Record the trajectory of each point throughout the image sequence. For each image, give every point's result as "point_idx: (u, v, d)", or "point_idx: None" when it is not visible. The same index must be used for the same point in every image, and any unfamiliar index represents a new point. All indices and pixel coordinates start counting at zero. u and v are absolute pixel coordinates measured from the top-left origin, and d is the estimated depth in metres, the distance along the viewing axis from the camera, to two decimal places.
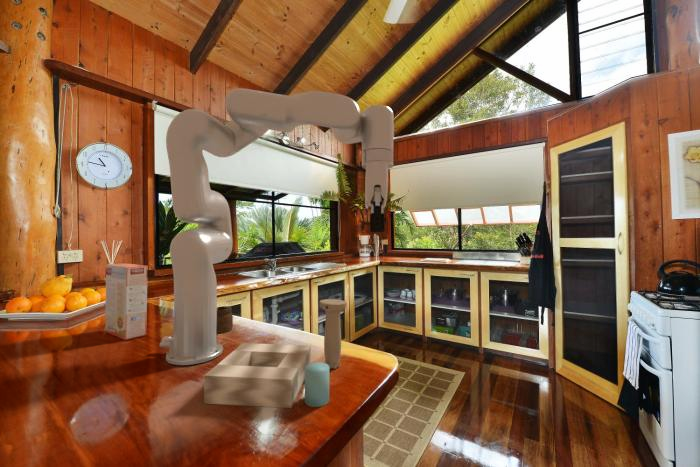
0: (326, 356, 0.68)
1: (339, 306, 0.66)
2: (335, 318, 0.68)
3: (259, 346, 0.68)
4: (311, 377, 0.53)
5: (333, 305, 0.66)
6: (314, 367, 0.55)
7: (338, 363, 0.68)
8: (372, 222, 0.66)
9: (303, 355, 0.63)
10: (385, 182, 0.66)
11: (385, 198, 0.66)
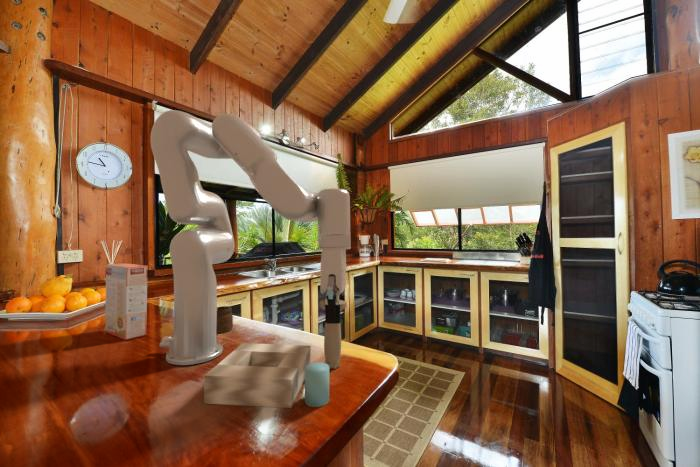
0: (326, 356, 0.68)
1: None
2: None
3: (259, 346, 0.68)
4: (311, 377, 0.53)
5: None
6: (314, 367, 0.55)
7: (338, 363, 0.68)
8: (327, 313, 0.64)
9: (303, 355, 0.63)
10: (340, 271, 0.64)
11: (340, 288, 0.64)
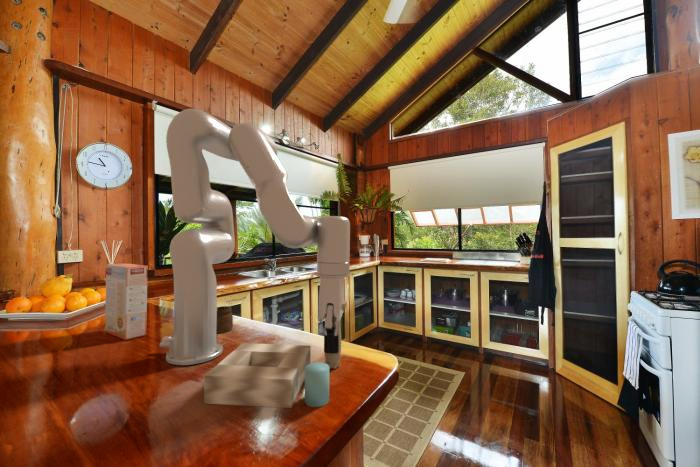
0: (326, 356, 0.68)
1: None
2: None
3: (259, 346, 0.68)
4: (311, 377, 0.53)
5: None
6: (314, 367, 0.55)
7: (338, 363, 0.68)
8: (326, 343, 0.66)
9: (303, 355, 0.63)
10: (338, 300, 0.64)
11: (338, 317, 0.64)
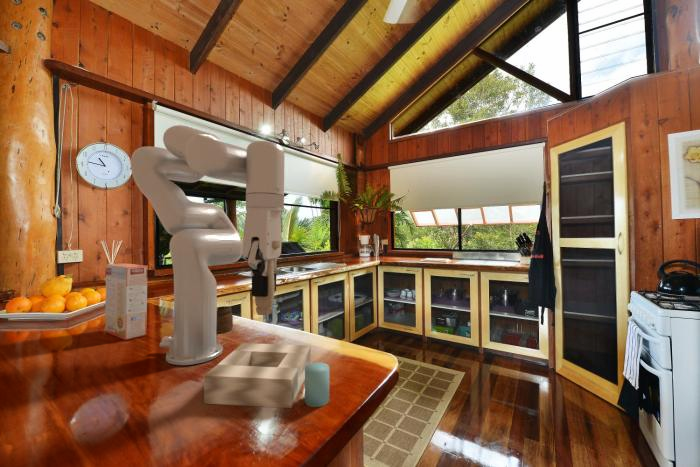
0: (256, 301, 0.60)
1: None
2: None
3: (259, 346, 0.68)
4: (311, 377, 0.53)
5: None
6: (314, 367, 0.55)
7: (270, 309, 0.60)
8: None
9: (303, 355, 0.63)
10: (265, 234, 0.56)
11: (264, 253, 0.56)
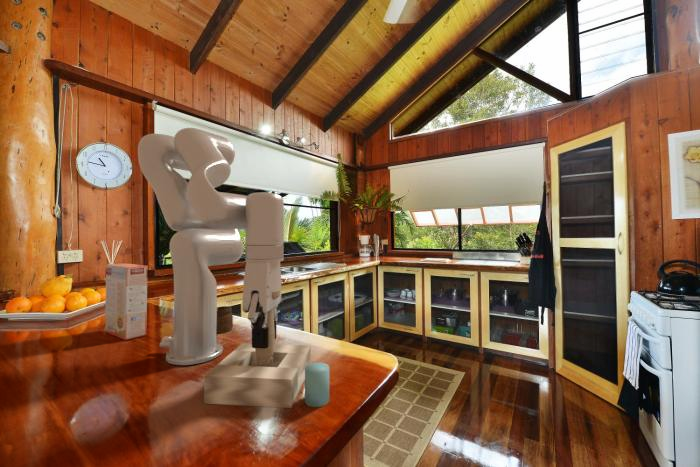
0: (256, 351, 0.60)
1: None
2: None
3: None
4: (311, 377, 0.53)
5: None
6: (314, 367, 0.55)
7: (270, 359, 0.60)
8: None
9: (303, 355, 0.63)
10: (264, 287, 0.56)
11: (264, 306, 0.56)
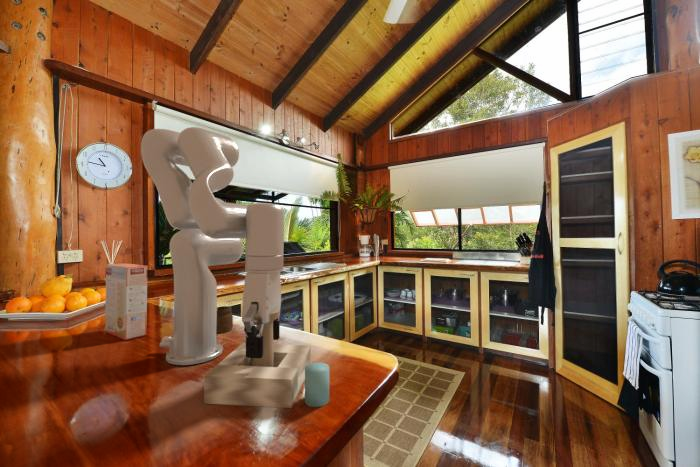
0: None
1: None
2: (266, 328, 0.60)
3: None
4: (311, 377, 0.53)
5: None
6: (314, 367, 0.55)
7: None
8: None
9: (303, 355, 0.63)
10: (264, 298, 0.56)
11: (264, 317, 0.56)
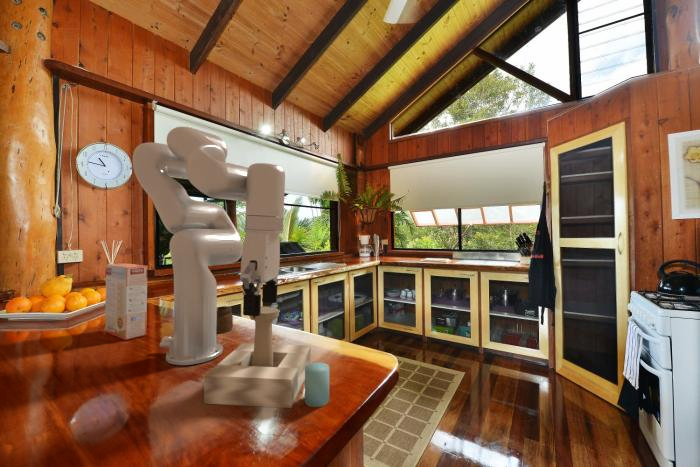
0: None
1: (267, 315, 0.58)
2: (265, 328, 0.60)
3: None
4: (311, 377, 0.53)
5: (261, 314, 0.58)
6: (314, 367, 0.55)
7: None
8: (246, 304, 0.56)
9: (303, 355, 0.63)
10: (263, 257, 0.56)
11: (262, 276, 0.57)
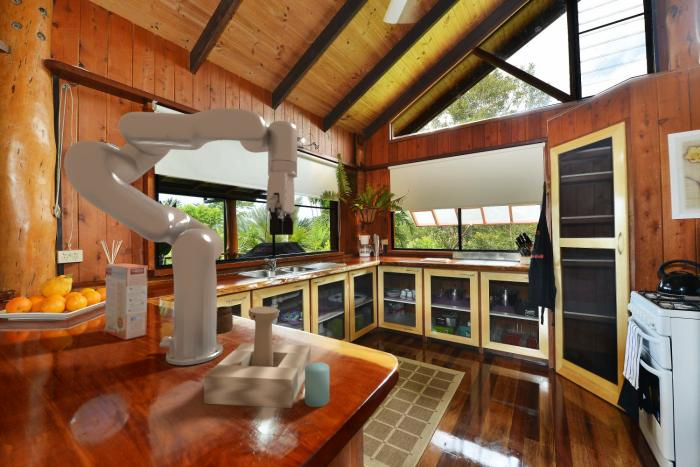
0: None
1: (267, 315, 0.58)
2: (265, 328, 0.60)
3: None
4: (311, 377, 0.53)
5: (261, 314, 0.58)
6: (314, 367, 0.55)
7: None
8: (271, 226, 0.74)
9: (303, 355, 0.63)
10: (283, 190, 0.74)
11: (283, 204, 0.74)
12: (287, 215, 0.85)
